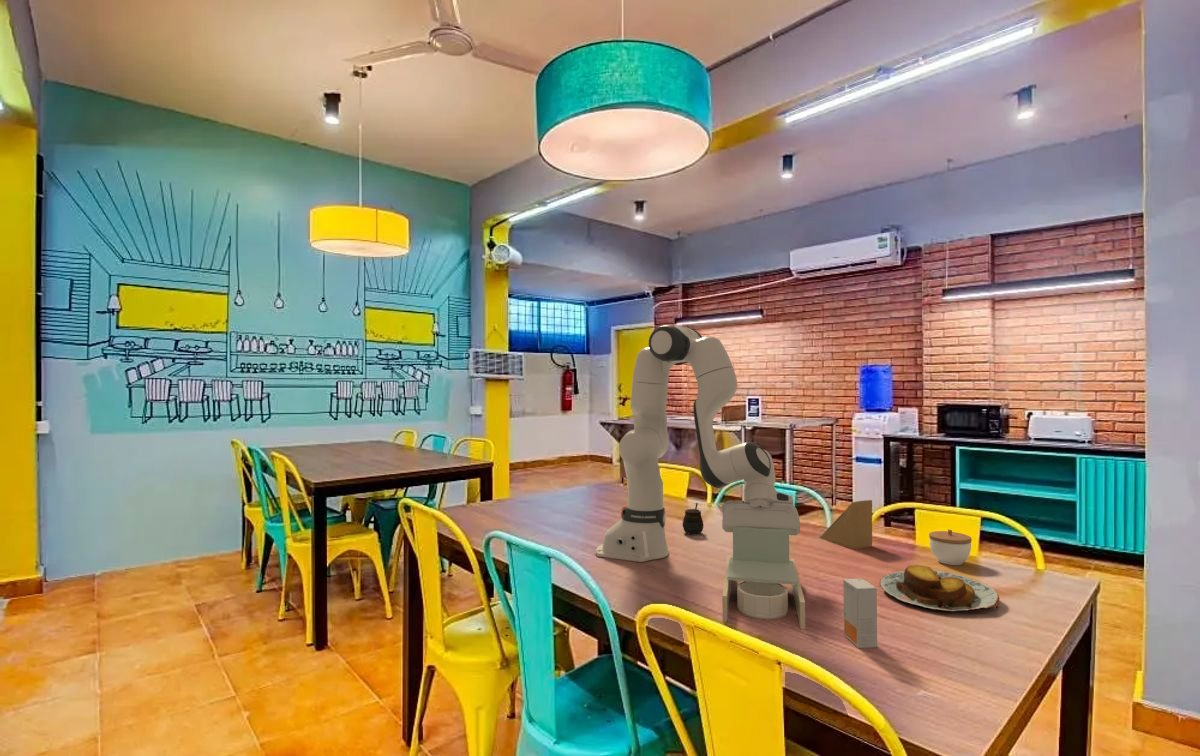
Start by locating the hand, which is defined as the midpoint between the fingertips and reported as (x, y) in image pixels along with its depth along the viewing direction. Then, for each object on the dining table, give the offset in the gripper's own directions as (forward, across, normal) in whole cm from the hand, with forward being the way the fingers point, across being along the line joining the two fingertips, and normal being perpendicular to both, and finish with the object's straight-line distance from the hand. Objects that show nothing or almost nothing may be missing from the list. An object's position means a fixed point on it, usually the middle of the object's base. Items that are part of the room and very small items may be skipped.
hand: (761, 546), depth 157 cm
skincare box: (+29, +19, -15) cm, 38 cm away
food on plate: (+7, +42, +8) cm, 43 cm away
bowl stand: (+15, 0, -1) cm, 15 cm away
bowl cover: (+9, 0, -3) cm, 9 cm away
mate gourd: (-28, -22, +42) cm, 55 cm away
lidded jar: (-15, +54, +30) cm, 64 cm away
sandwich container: (-27, +28, +42) cm, 57 cm away
